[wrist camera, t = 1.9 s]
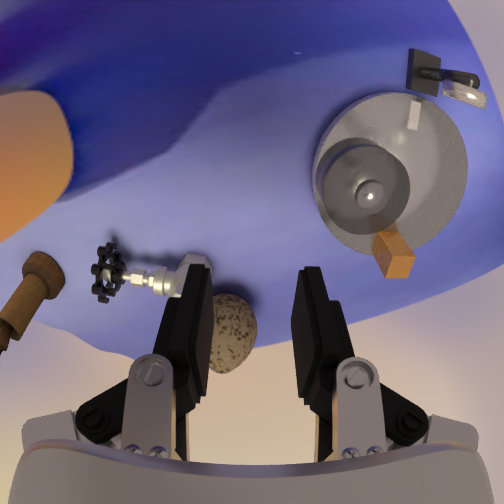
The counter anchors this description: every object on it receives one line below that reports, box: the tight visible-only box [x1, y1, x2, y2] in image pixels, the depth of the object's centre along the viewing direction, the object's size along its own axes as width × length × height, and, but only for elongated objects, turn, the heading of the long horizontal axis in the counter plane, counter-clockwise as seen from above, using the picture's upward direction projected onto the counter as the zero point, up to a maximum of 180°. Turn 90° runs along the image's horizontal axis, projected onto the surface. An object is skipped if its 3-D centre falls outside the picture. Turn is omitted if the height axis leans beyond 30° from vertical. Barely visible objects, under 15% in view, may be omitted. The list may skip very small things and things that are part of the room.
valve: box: [91, 242, 213, 304], centre depth 29 cm, size 7×7×12 cm
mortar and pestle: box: [0, 252, 65, 355], centre depth 26 cm, size 7×6×18 cm
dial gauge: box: [406, 49, 487, 110], centre depth 16 cm, size 4×4×9 cm
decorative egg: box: [209, 293, 257, 374], centre depth 31 cm, size 7×7×10 cm
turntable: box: [312, 92, 468, 278], centre depth 22 cm, size 16×16×6 cm
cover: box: [315, 137, 410, 235], centre depth 21 cm, size 7×7×4 cm
